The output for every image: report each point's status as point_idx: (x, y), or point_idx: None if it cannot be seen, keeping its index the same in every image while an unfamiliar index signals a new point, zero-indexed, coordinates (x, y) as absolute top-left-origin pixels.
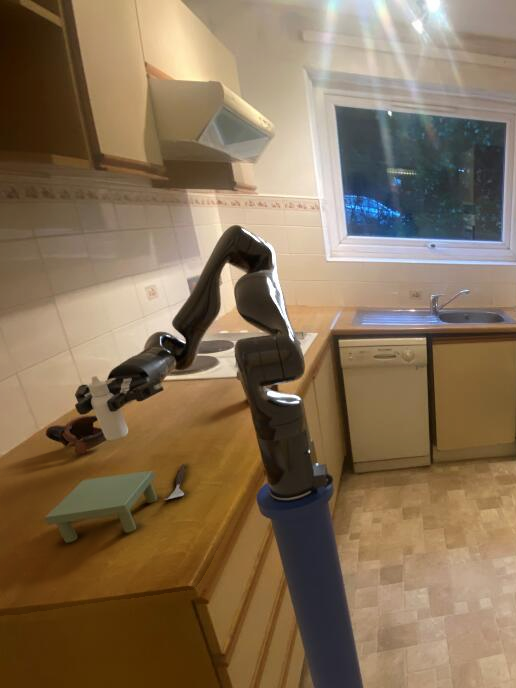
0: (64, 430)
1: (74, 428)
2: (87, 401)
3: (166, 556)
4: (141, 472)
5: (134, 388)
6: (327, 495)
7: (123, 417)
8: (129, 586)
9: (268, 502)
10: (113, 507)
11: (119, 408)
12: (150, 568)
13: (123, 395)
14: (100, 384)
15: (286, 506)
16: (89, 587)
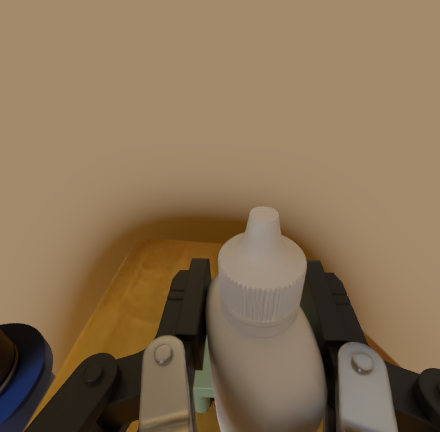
0: None
1: None
2: (309, 300)
3: (159, 267)
4: (200, 385)
5: (105, 390)
6: None
7: (219, 411)
8: (184, 243)
9: (31, 350)
10: (211, 280)
11: (211, 369)
12: (171, 256)
13: (167, 333)
14: (231, 239)
15: (16, 331)
16: (217, 249)
